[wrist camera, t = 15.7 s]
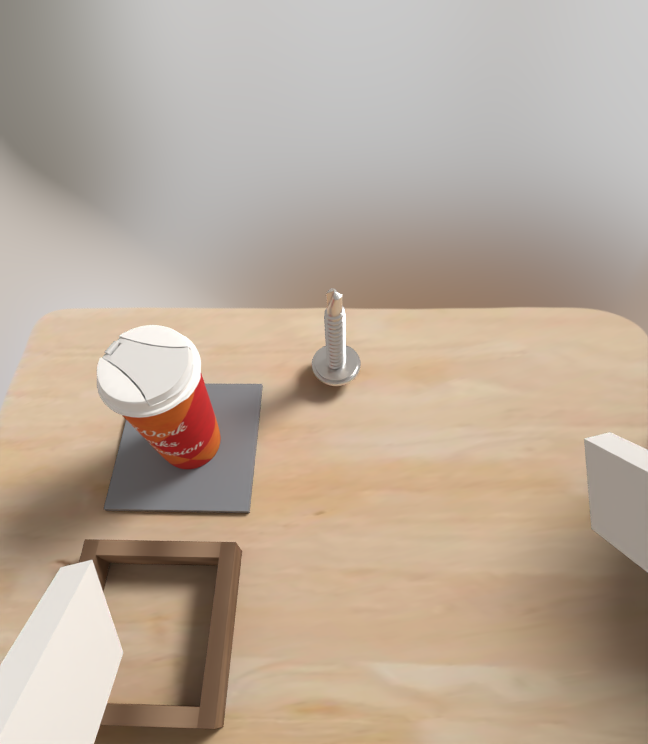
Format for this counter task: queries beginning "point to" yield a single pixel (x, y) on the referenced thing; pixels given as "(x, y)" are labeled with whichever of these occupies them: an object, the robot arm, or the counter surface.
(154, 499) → the slate mat
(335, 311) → the screw
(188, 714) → the cup holder
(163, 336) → the paper cup
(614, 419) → the counter surface
